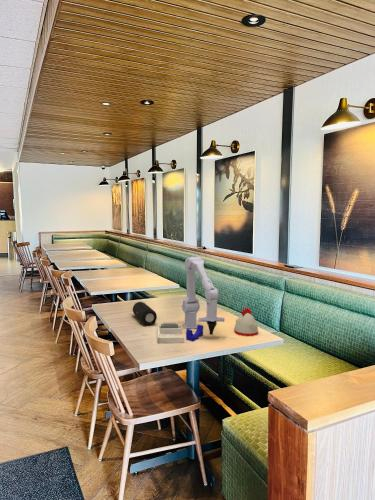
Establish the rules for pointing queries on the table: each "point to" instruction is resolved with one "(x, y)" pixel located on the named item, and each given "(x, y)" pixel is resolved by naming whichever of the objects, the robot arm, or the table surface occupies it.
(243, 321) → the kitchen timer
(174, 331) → the beige tray
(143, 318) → the portable speaker
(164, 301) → the table surface
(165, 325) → the seated twin plug
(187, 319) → the robot arm
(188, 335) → the cable clip
